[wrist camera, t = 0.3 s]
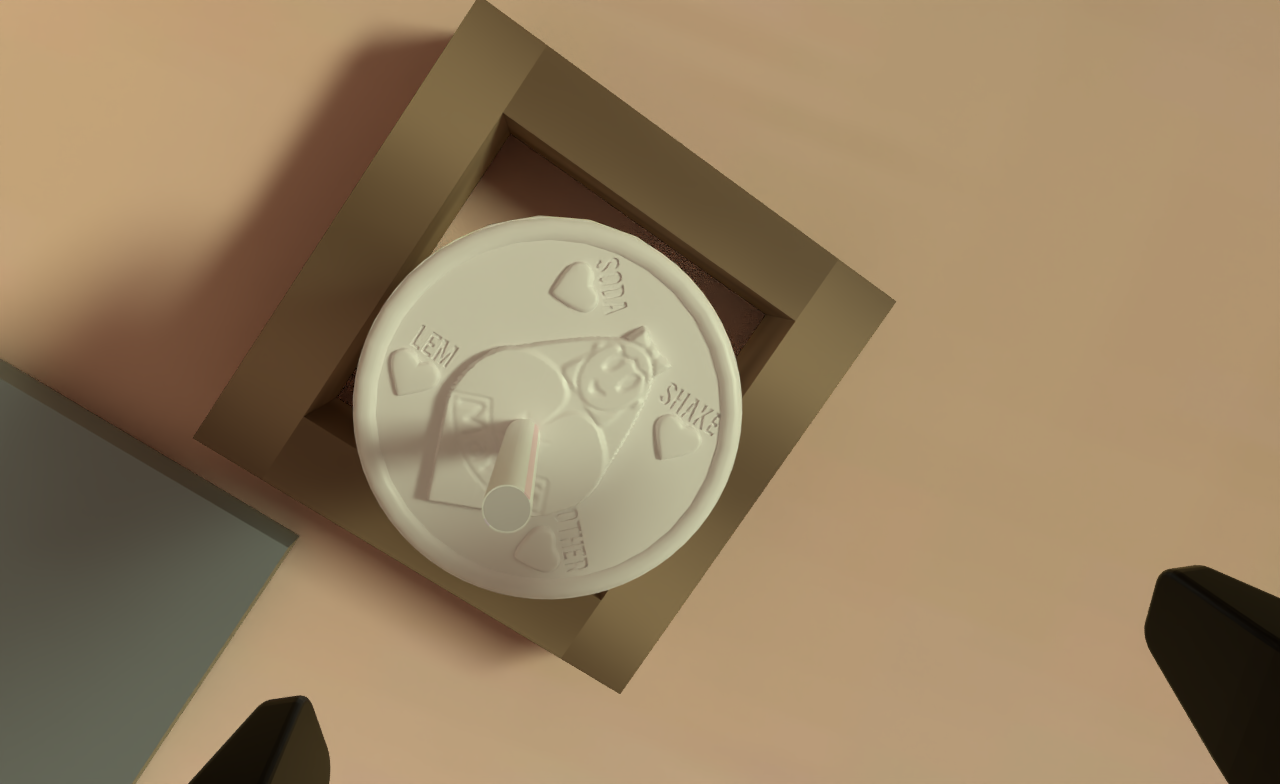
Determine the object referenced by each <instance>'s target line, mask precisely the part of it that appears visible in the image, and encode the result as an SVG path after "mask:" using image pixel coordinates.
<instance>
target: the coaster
mask: <svg viewBox="0 0 1280 784" xmlns="http://www.w3.org/2000/svg"><path fill="white" fill-rule="evenodd" d="M298 538H299V535H297V534H295V533H294V532H292V531H290V530H289V529H287V528H285V527H284V526H282V525H280V524H279V523H277V522H275V521H274V520H272V519H270V518H268V517H267V516H265V515H263V514H262V513H260V512H258V511H257V510H255V509H253V508H252V507H250V506H248V505H247V504H245V503H243V502H241V501H240V500H238V499H236V498H235V497H233V496H231V495H230V494H228V493H226V492H225V491H223V490H221V489H219V488H218V487H216V486H214V485H213V484H211V483H209V482H208V481H206V480H204V479H203V478H201V477H199V476H198V475H196V474H194V473H192V472H191V471H189V470H187V469H186V468H184V467H182V466H181V465H179V464H177V463H176V462H174V461H172V460H171V459H169V458H167V457H165V456H164V455H162V454H160V453H159V452H157V451H155V450H154V449H152V448H150V447H149V446H147V445H145V444H144V443H142V442H140V441H138V440H137V439H135V438H133V437H132V436H130V435H128V434H127V433H125V432H123V431H122V430H120V429H118V428H117V427H115V426H113V425H111V424H110V423H108V422H106V421H105V420H103V419H101V418H100V417H98V416H96V415H95V414H93V413H91V412H89V411H88V410H86V409H84V408H83V407H81V406H79V405H78V404H76V403H74V402H73V401H71V400H69V399H68V398H66V397H64V396H62V395H61V394H59V393H57V392H56V391H54V390H52V389H51V388H49V387H47V386H46V385H44V384H42V383H41V382H39V381H37V380H35V379H34V378H32V377H30V376H29V375H27V374H25V373H24V372H22V371H20V370H19V369H17V368H15V367H14V366H12V365H10V364H8V363H7V362H5V361H3V360H2V359H0V784H135V783H136V782H137V780H138V779H139V777H140V776H141V774H142V773H143V771H144V770H145V768H146V767H147V765H148V764H149V762H150V761H151V759H152V758H153V756H154V755H155V753H156V752H157V750H158V749H159V747H160V746H161V744H162V743H163V741H164V740H165V738H166V737H167V735H168V734H169V732H170V731H171V729H172V728H173V726H174V725H175V723H176V722H177V720H178V719H179V717H180V716H181V714H182V713H183V711H184V710H185V708H186V707H187V705H188V704H189V702H190V701H191V699H192V698H193V696H194V695H195V693H196V692H197V690H198V688H199V687H200V685H201V684H202V682H203V681H204V679H205V678H206V676H207V675H208V673H209V672H210V670H211V669H212V667H213V666H214V664H215V663H216V661H217V660H218V658H219V657H220V655H221V654H222V652H223V651H224V649H225V648H226V646H227V645H228V643H229V642H230V640H231V639H232V637H233V636H234V634H235V633H236V631H237V630H238V628H239V627H240V625H241V624H242V622H243V621H244V619H245V618H246V616H247V615H248V613H249V612H250V610H251V609H252V607H253V606H254V604H255V603H256V601H257V600H258V598H259V597H260V595H261V594H262V592H263V590H264V589H265V587H266V586H267V584H268V583H269V581H270V580H271V578H272V577H273V575H274V574H275V572H276V571H277V569H278V568H279V566H280V565H281V563H282V562H283V560H284V559H285V557H286V556H287V554H288V553H289V551H290V550H291V548H292V547H293V545H294V544H295V542H296V541H297V539H298Z"/></svg>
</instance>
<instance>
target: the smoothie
mask: <svg viewBox="0 0 1280 784" xmlns="http://www.w3.org/2000/svg"><path fill="white" fill-rule="evenodd" d="M353 423H354V434H355V440H356V445H357V450H358V454H359V458H360V461H361V464H362V468H363V471H364V474H365V476H366V478H367V481H368V483H369V486H370V488H371V490H372V492H373V494H374V496H375V498H376V499H377V501H378V503H379V505H380V507H381V508H382V510H383V511H384V513H385V514H386V516H387V517H388V519H389V520H390V521H391V523H392V524H393V525H394V526H395V528H396V529H397V530H398V531H399V532H400V534H401V535H402V536H403V537H404V538H405V539H406V540H407V541H408V542H409V543H410V544H411V545H412V546H413V547H414V548H415V549H416V550H417V551H419V552H420V553H421V554H422V555H424V556H425V557H426V558H427V559H428V560H430V561H431V562H433V563H434V564H436V565H437V566H439V567H440V568H442V569H443V570H445V571H446V572H448V573H450V574H452V575H454V576H455V577H457V578H459V579H461V580H463V581H465V582H468V583H470V584H473V585H475V586H477V587H480V588H483V589H486V590H489V591H493V592H496V593H500V594H505V595H509V596H514V597H522V598H530V599H563V598H574V597H580V596H586V595H591V594H595V593H598V592H602V591H606V590H609V589H612V588H614V587H617V586H620V585H623V584H625V583H627V582H629V581H631V580H633V579H636V578H638V577H640V576H642V575H643V574H645V573H647V572H648V571H650V570H652V569H653V568H655V567H657V566H658V565H659V564H661V563H662V562H663V561H665V560H666V559H668V558H669V557H670V556H672V555H673V554H674V553H675V552H676V551H677V550H678V549H679V548H681V547H682V546H683V545H684V544H685V543H686V542H687V541H688V540H689V539H690V538H691V537H692V536H693V534H694V533H695V532H696V531H697V530H698V529H699V527H700V526H701V525H702V524H703V522H704V521H705V520H706V518H707V517H708V516H709V514H710V513H711V511H712V509H713V508H714V506H715V505H716V503H717V501H718V500H719V498H720V496H721V494H722V492H723V490H724V488H725V486H726V483H727V481H728V478H729V476H730V473H731V471H732V468H733V465H734V461H735V458H736V454H737V450H738V445H739V439H740V434H741V424H742V392H741V383H740V376H739V371H738V367H737V362H736V358H735V355H734V352H733V349H732V346H731V343H730V340H729V338H728V335H727V333H726V331H725V329H724V326H723V324H722V322H721V320H720V319H719V317H718V315H717V313H716V312H715V310H714V308H713V306H712V305H711V304H710V302H709V301H708V299H707V298H706V296H705V295H704V294H703V292H702V291H701V290H700V289H699V288H698V286H697V285H696V284H695V283H694V282H693V281H692V279H691V278H690V277H689V276H688V275H687V274H686V273H685V272H684V271H682V270H681V269H680V268H679V266H678V265H676V264H675V263H674V262H672V261H671V260H670V259H668V258H667V257H666V256H665V255H663V254H662V253H661V252H659V251H658V250H656V249H654V248H653V247H651V246H650V245H648V244H647V243H645V242H644V241H642V240H641V239H639V238H638V237H636V236H634V235H631V234H628V233H625V232H622V231H620V230H617V229H614V228H611V227H609V226H606V225H603V224H600V223H598V222H595V221H592V220H588V219H577V218H565V217H553V216H541V215H539V216H533V217H528V218H522V219H517V220H511V221H506V222H501V223H495V224H490V225H487V226H485V227H483V228H481V229H479V230H476V231H473V232H471V233H469V234H467V235H465V236H462V237H460V238H458V239H456V240H454V241H453V242H451V243H449V244H447V245H446V246H444V247H442V248H441V249H439V250H438V251H436V252H435V253H434V254H432V255H431V256H429V257H428V258H427V259H425V260H424V261H423V262H422V263H420V264H419V265H418V266H417V267H416V268H415V269H414V270H413V271H412V272H411V273H409V274H408V275H407V277H406V278H405V279H404V280H403V281H402V282H401V283H400V284H399V285H398V287H397V288H396V289H395V290H394V291H393V293H392V294H391V296H390V297H389V298H388V300H387V301H386V302H385V304H384V305H383V307H382V309H381V310H380V312H379V314H378V315H377V317H376V319H375V321H374V322H373V325H372V327H371V329H370V331H369V333H368V336H367V338H366V340H365V343H364V346H363V349H362V352H361V355H360V358H359V363H358V367H357V372H356V376H355V384H354V392H353Z"/></svg>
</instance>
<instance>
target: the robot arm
mask: <svg viewBox="0 0 1280 784" xmlns="http://www.w3.org/2000/svg"><path fill="white" fill-rule="evenodd" d="M1144 632H1145V639H1146V642H1147V645H1148V648H1149V650H1150V652H1151V654H1152V655H1153V657H1154V659H1155V661H1156V662H1157V664H1158V666H1159V667H1160V669H1161V671H1162V673H1163V674H1164V676H1165V678H1166V679H1167V681H1168V683H1169V685H1170V686H1171V688H1172V690H1173V691H1174V693H1175V695H1176V697H1177V698H1178V700H1179V702H1180V703H1181V705H1182V707H1183V708H1184V710H1185V712H1186V714H1187V715H1188V717H1189V719H1190V720H1191V722H1192V724H1193V726H1194V727H1195V729H1196V731H1197V732H1198V734H1199V736H1200V738H1201V739H1202V741H1203V743H1204V744H1205V746H1206V748H1207V750H1208V751H1209V753H1210V755H1211V756H1212V758H1213V760H1214V761H1215V763H1216V765H1217V766H1218V768H1219V769H1220V771H1221V773H1222V774H1223V776H1224V777H1225V779H1226V781H1227V782H1228V784H1280V598H1278V597H1276V596H1274V595H1271V594H1269V593H1267V592H1265V591H1262V590H1260V589H1258V588H1255V587H1253V586H1251V585H1248V584H1246V583H1244V582H1242V581H1239V580H1237V579H1235V578H1232V577H1230V576H1228V575H1225V574H1223V573H1221V572H1218V571H1216V570H1214V569H1212V568H1209V567H1206V566H1202V565H1193V566H1186V567H1179V568H1172V569H1167V570H1165V571H1163V572H1162V573H1161V574H1160V575H1159V577H1158V579H1157V581H1156V585H1155V588H1154V592H1153V596H1152V599H1151V603H1150V607H1149V610H1148V614H1147V618H1146V621H1145V627H1144ZM329 781H330V757H329V752H328V748H327V745H326V742H325V740H324V737H323V734H322V731H321V728H320V725H319V723H318V720H317V717H316V714H315V711H314V708H313V706H312V703H311V702H310V700H309V699H308V698H307V697H305V696H301V695H299V696H292V697H285V698H278V699H272V700H268V701H265V702H263V703H262V704H261V705H259V706H258V707H257V708H256V709H255V710H254V712H253V713H252V714H251V715H250V716H249V717H248V718H247V719H246V720H245V722H244V723H243V724H242V725H241V726H240V727H239V728H238V729H237V730H236V731H235V733H234V734H233V735H232V736H231V737H230V738H229V739H228V740H227V741H226V743H225V744H224V745H223V746H222V747H221V748H220V749H219V750H218V751H217V752H216V754H215V755H214V756H213V757H212V758H211V759H210V760H209V761H208V762H207V764H206V765H205V766H204V767H203V768H202V769H201V770H200V771H199V772H198V773H197V775H196V776H195V777H194V778H193V779H192V780H191V781H190V782H189V783H188V784H329Z"/></svg>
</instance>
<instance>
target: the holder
mask: <svg viewBox="0 0 1280 784" xmlns="http://www.w3.org/2000/svg"><path fill="white" fill-rule="evenodd" d="M510 134H512V135H513V136H514V137H516V138H517V139H519V140H520V141H522V142H523V143H524V144H526V145H527V146H529V147H530V148H531V149H533V150H534V151H536V152H537V153H538V154H540V155H541V156H543V157H544V158H546V159H547V160H548V161H550V162H551V163H553V164H554V165H555V166H557V167H558V168H560V169H561V170H562V171H564V172H565V173H567V174H568V175H570V176H571V177H572V178H574V179H575V180H577V181H578V182H579V183H581V184H582V185H584V186H585V187H586V188H588V189H589V190H591V191H592V192H594V193H595V194H596V195H598V196H599V197H601V198H602V199H603V200H605V201H606V202H608V203H609V204H610V205H612V206H613V207H615V208H616V209H618V210H619V211H620V212H622V213H623V214H625V215H626V216H627V217H629V218H630V219H632V220H633V221H634V222H636V223H637V224H639V225H640V226H642V227H643V228H644V229H646V230H647V231H649V232H650V233H651V234H653V235H654V236H656V237H657V238H658V239H660V240H661V241H663V242H664V243H666V244H667V245H668V246H670V247H671V248H673V249H674V250H675V251H677V252H678V253H680V254H681V255H682V256H684V257H685V258H687V259H688V260H689V261H691V262H692V263H694V264H695V265H697V266H698V267H699V268H701V269H702V270H704V271H705V272H706V273H708V274H709V275H711V276H712V277H713V278H715V279H716V280H718V281H719V282H721V283H722V284H723V285H725V286H726V287H728V288H729V289H730V290H732V291H733V292H735V293H736V294H737V295H739V296H740V297H742V298H743V299H745V300H746V301H747V302H749V303H750V304H752V305H753V306H754V307H756V308H757V309H759V310H760V311H761V312H763V313H764V314H766V315H765V317H764V318H763V319H762V321H761V322H760V324H759V325H758V327H757V328H756V330H755V331H754V332H753V334H752V335H751V337H750V338H749V340H748V341H747V343H746V344H745V345H744V347H743V348H742V350H741V351H740V353H739V354H738V356H737V357H736V362H737V367H738V371H739V376H740V383H741V392H742V424H741V434H740V439H739V445H738V450H737V454H736V458H735V461H734V465H733V468H732V471H731V473H730V476H729V478H728V481H727V483H726V486H725V488H724V490H723V492H722V494H721V496H720V498H719V500H718V501H717V503H716V505H715V506H714V508H713V509H712V511H711V513H710V514H709V516H708V517H707V518H706V520H705V521H704V522H703V524H702V525H701V526H700V527H699V529H698V530H697V531H696V532H695V533H694V534H693V536H692V537H691V538H690V539H689V540H688V541H687V542H686V543H685V544H684V545H683V546H682V547H681V548H679V549H678V550H677V551H676V552H675V553H674V554H673V555H672V556H670V557H669V558H668V559H666V560H665V561H663V562H662V563H661V564H659V565H658V566H657V567H655V568H653V569H652V570H650V571H648V572H647V573H645V574H643V575H642V576H640V577H638V578H636V579H633V580H631V581H629V582H627V583H625V584H623V585H620V586H617V587H614V588H612V589H609V590H606V591H602V592H598V593H595V594H591V595H586V596H580V597H574V598H563V599H530V598H522V597H514V596H509V595H505V594H500V593H496V592H493V591H489V590H486V589H483V588H480V587H477V586H475V585H473V584H470V583H468V582H465V581H463V580H461V579H459V578H457V577H455V576H454V575H452V574H450V573H448V572H446V571H445V570H443V569H442V568H440V567H439V566H437V565H436V564H434V563H433V562H431V561H430V560H428V559H427V558H426V557H425V556H424V555H422V554H421V553H420V552H419V551H417V550H416V549H415V548H414V547H413V546H412V545H411V544H410V543H409V542H408V541H407V540H406V539H405V538H404V537H403V536H402V535H401V534H400V532H399V531H398V530H397V529H396V528H395V526H394V525H393V524H392V523H391V521H390V520H389V519H388V517H387V516H386V514H385V513H384V511H383V510H382V508H381V507H380V505H379V503H378V501H377V499H376V498H375V496H374V494H373V492H372V490H371V488H370V486H369V483H368V481H367V478H366V476H365V474H364V471H363V468H362V464H361V461H360V458H359V454H358V450H357V445H356V440H355V434H354V423H353V408H352V407H351V406H349V405H348V404H346V403H345V402H343V401H341V400H340V399H338V398H337V396H338V394H339V393H340V391H341V390H342V388H343V387H344V385H345V384H346V382H347V381H348V379H349V378H350V376H351V375H352V373H353V372H354V370H355V369H356V367H357V365H358V363H359V358H360V355H361V352H362V349H363V346H364V343H365V340H366V338H367V336H368V333H369V331H370V329H371V327H372V325H373V322H374V321H375V319H376V317H377V315H378V314H379V312H380V310H381V309H382V307H383V305H384V304H385V302H386V301H387V300H388V298H389V297H390V296H391V294H392V293H393V291H394V290H395V289H396V288H397V287H398V285H399V284H400V283H401V282H402V281H403V280H404V279H405V278H406V277H407V275H408V274H409V273H411V272H412V271H413V270H414V269H415V268H416V267H417V266H418V265H419V264H420V263H422V262H423V261H424V260H425V259H427V258H428V257H429V256H430V255H431V253H432V252H433V250H434V249H435V247H436V245H437V244H438V242H439V241H440V239H441V238H442V236H443V235H444V233H445V232H446V230H447V229H448V227H449V226H450V224H451V223H452V221H453V220H454V218H455V217H456V215H457V214H458V212H459V211H460V209H461V207H462V206H463V204H464V203H465V201H466V200H467V198H468V197H469V195H470V194H471V192H472V191H473V189H474V188H475V186H476V185H477V183H478V182H479V180H480V179H481V177H482V176H483V174H484V173H485V171H486V170H487V168H488V166H489V165H490V163H491V162H492V160H493V159H494V157H495V156H496V154H497V153H498V151H499V150H500V148H501V147H502V145H503V144H504V142H505V141H506V139H507V138H508V136H509V135H510ZM895 303H896V301H895V300H894V299H892V298H891V297H889V296H888V295H887V294H885V293H884V292H883V291H881V290H880V289H879V288H877V287H876V286H874V285H873V284H872V283H870V282H869V281H868V280H866V279H865V278H864V277H862V276H861V275H859V274H858V273H857V272H855V271H854V270H853V269H851V268H850V267H849V266H847V265H846V264H844V263H843V262H842V261H840V260H839V259H838V258H836V257H835V256H834V255H832V254H831V253H829V252H828V251H827V250H825V249H824V248H823V247H821V246H820V245H819V244H817V243H816V242H814V241H813V240H812V239H810V238H809V237H808V236H806V235H805V234H804V233H802V232H801V231H799V230H798V229H797V228H795V227H794V226H793V225H791V224H790V223H789V222H787V221H786V220H785V219H783V218H782V217H780V216H779V215H778V214H776V213H775V212H774V211H772V210H771V209H770V208H768V207H767V206H765V205H764V204H763V203H761V202H760V201H759V200H757V199H756V198H755V197H753V196H752V195H750V194H749V193H748V192H746V191H745V190H744V189H742V188H741V187H740V186H738V185H737V184H735V183H734V182H733V181H731V180H730V179H729V178H727V177H726V176H725V175H723V174H722V173H720V172H719V171H718V170H716V169H715V168H714V167H712V166H711V165H710V164H708V163H707V162H705V161H704V160H703V159H701V158H700V157H699V156H697V155H696V154H695V153H693V152H692V151H690V150H689V149H688V148H686V147H685V146H684V145H682V144H681V143H680V142H678V141H677V140H676V139H674V138H673V137H671V136H670V135H669V134H667V133H666V132H665V131H663V130H662V129H661V128H659V127H658V126H656V125H655V124H654V123H652V122H651V121H650V120H648V119H647V118H646V117H644V116H643V115H641V114H640V113H639V112H637V111H636V110H635V109H633V108H632V107H631V106H629V105H628V104H626V103H625V102H624V101H622V100H621V99H620V98H618V97H617V96H616V95H614V94H613V93H611V92H610V91H609V90H607V89H606V88H605V87H603V86H602V85H601V84H599V83H598V82H596V81H595V80H594V79H592V78H591V77H590V76H588V75H587V74H586V73H584V72H583V71H581V70H580V69H579V68H577V67H576V66H575V65H573V64H572V63H571V62H569V61H568V60H567V59H565V58H564V57H562V56H561V55H560V54H558V53H557V52H556V51H554V50H553V49H552V48H550V47H549V46H547V45H546V44H545V43H543V42H542V41H541V40H539V39H538V38H537V37H535V36H534V35H532V34H531V33H530V32H528V31H527V30H526V29H524V28H523V27H522V26H520V25H519V24H517V23H516V22H515V21H513V20H512V19H511V18H509V17H508V16H507V15H505V14H504V13H502V12H501V11H500V10H498V9H497V8H496V7H494V6H493V5H492V4H490V3H489V2H487V1H486V0H476V1H475V3H474V4H473V6H472V7H471V9H470V10H469V12H468V14H467V15H466V17H465V18H464V20H463V21H462V23H461V24H460V26H459V27H458V29H457V31H456V32H455V34H454V35H453V37H452V38H451V40H450V41H449V43H448V44H447V46H446V47H445V49H444V51H443V52H442V54H441V55H440V57H439V58H438V60H437V61H436V63H435V64H434V66H433V68H432V69H431V71H430V72H429V74H428V75H427V77H426V78H425V80H424V81H423V83H422V85H421V86H420V88H419V89H418V91H417V92H416V94H415V95H414V97H413V98H412V100H411V102H410V103H409V105H408V106H407V108H406V109H405V111H404V112H403V114H402V115H401V117H400V119H399V120H398V122H397V123H396V125H395V126H394V128H393V129H392V131H391V132H390V134H389V136H388V137H387V139H386V140H385V142H384V143H383V145H382V146H381V148H380V149H379V151H378V153H377V154H376V156H375V157H374V159H373V160H372V162H371V163H370V165H369V166H368V168H367V170H366V171H365V173H364V174H363V176H362V177H361V179H360V180H359V182H358V183H357V185H356V187H355V188H354V190H353V191H352V193H351V194H350V196H349V197H348V199H347V200H346V202H345V204H344V205H343V207H342V208H341V210H340V211H339V213H338V214H337V216H336V217H335V219H334V220H333V222H332V224H331V225H330V227H329V228H328V230H327V231H326V233H325V234H324V236H323V237H322V239H321V241H320V242H319V244H318V245H317V247H316V248H315V250H314V251H313V253H312V254H311V256H310V258H309V259H308V261H307V262H306V264H305V265H304V267H303V268H302V270H301V271H300V273H299V275H298V276H297V278H296V279H295V281H294V282H293V284H292V285H291V287H290V288H289V290H288V292H287V293H286V295H285V296H284V298H283V299H282V301H281V302H280V304H279V305H278V307H277V309H276V310H275V312H274V313H273V315H272V316H271V318H270V319H269V321H268V322H267V324H266V326H265V327H264V329H263V330H262V332H261V333H260V335H259V336H258V338H257V339H256V341H255V343H254V344H253V346H252V347H251V349H250V350H249V352H248V353H247V355H246V356H245V358H244V360H243V361H242V363H241V364H240V366H239V367H238V369H237V370H236V372H235V373H234V375H233V377H232V378H231V380H230V381H229V383H228V384H227V386H226V387H225V389H224V390H223V392H222V394H221V395H220V397H219V398H218V400H217V401H216V403H215V404H214V406H213V407H212V409H211V410H210V412H209V414H208V415H207V417H206V418H205V420H204V421H203V423H202V424H201V426H200V427H199V429H198V431H197V432H196V434H195V435H194V437H193V438H194V439H195V440H197V441H199V442H200V443H202V444H204V445H205V446H207V447H209V448H210V449H212V450H214V451H215V452H217V453H219V454H220V455H222V456H224V457H225V458H227V459H229V460H230V461H232V462H234V463H235V464H237V465H239V466H240V467H242V468H244V469H245V470H247V471H249V472H250V473H252V474H254V475H255V476H257V477H259V478H260V479H262V480H264V481H265V482H267V483H269V484H270V485H272V486H274V487H275V488H277V489H279V490H280V491H282V492H284V493H285V494H287V495H289V496H290V497H292V498H294V499H295V500H297V501H299V502H300V503H302V504H304V505H305V506H307V507H309V508H310V509H312V510H314V511H315V512H317V513H319V514H320V515H322V516H324V517H325V518H327V519H329V520H330V521H332V522H334V523H335V524H337V525H339V526H340V527H342V528H344V529H345V530H347V531H349V532H350V533H352V534H354V535H355V536H357V537H359V538H360V539H362V540H364V541H365V542H367V543H369V544H370V545H372V546H374V547H375V548H377V549H379V550H380V551H382V552H384V553H385V554H387V555H389V556H390V557H392V558H394V559H395V560H397V561H399V562H400V563H402V564H404V565H405V566H407V567H409V568H410V569H412V570H414V571H415V572H417V573H419V574H420V575H422V576H424V577H425V578H427V579H429V580H430V581H432V582H434V583H435V584H437V585H439V586H440V587H442V588H444V589H446V590H447V591H449V592H451V593H452V594H454V595H456V596H457V597H459V598H461V599H462V600H464V601H466V602H467V603H469V604H471V605H472V606H474V607H476V608H477V609H479V610H481V611H482V612H484V613H486V614H487V615H489V616H491V617H492V618H494V619H496V620H497V621H499V622H501V623H502V624H504V625H506V626H507V627H509V628H511V629H512V630H514V631H516V632H517V633H519V634H521V635H522V636H524V637H526V638H527V639H529V640H531V641H532V642H534V643H536V644H537V645H539V646H541V647H542V648H544V649H546V650H547V651H549V652H551V653H552V654H554V655H556V656H557V657H559V658H561V659H562V660H564V661H566V662H567V663H569V664H571V665H572V666H574V667H576V668H577V669H579V670H581V671H582V672H584V673H586V674H587V675H589V676H591V677H592V678H594V679H596V680H597V681H599V682H601V683H602V684H604V685H606V686H607V687H609V688H611V689H612V690H614V691H616V692H617V693H619V694H621V692H622V691H623V689H624V688H625V686H626V685H627V684H628V682H629V681H630V679H631V678H632V677H633V675H634V674H635V672H636V671H637V669H638V668H639V667H640V665H641V664H642V662H643V661H644V659H645V658H646V657H647V655H648V654H649V652H650V651H651V649H652V648H653V647H654V645H655V644H656V642H657V641H658V640H659V638H660V637H661V635H662V634H663V632H664V631H665V630H666V628H667V627H668V625H669V624H670V622H671V621H672V620H673V618H674V617H675V615H676V614H677V613H678V611H679V610H680V608H681V607H682V605H683V604H684V603H685V601H686V600H687V598H688V597H689V595H690V594H691V593H692V591H693V590H694V588H695V587H696V586H697V584H698V583H699V581H700V580H701V578H702V577H703V576H704V574H705V573H706V571H707V570H708V568H709V567H710V566H711V564H712V563H713V561H714V560H715V559H716V557H717V556H718V554H719V553H720V551H721V550H722V549H723V547H724V546H725V544H726V543H727V541H728V540H729V539H730V537H731V536H732V534H733V533H734V532H735V530H736V529H737V527H738V526H739V524H740V523H741V522H742V520H743V519H744V517H745V516H746V514H747V513H748V512H749V510H750V509H751V507H752V506H753V504H754V503H755V502H756V500H757V499H758V497H759V496H760V495H761V493H762V492H763V490H764V489H765V487H766V486H767V485H768V483H769V482H770V480H771V479H772V477H773V476H774V475H775V473H776V472H777V470H778V469H779V468H780V466H781V465H782V463H783V462H784V460H785V459H786V458H787V456H788V455H789V453H790V452H791V450H792V449H793V448H794V446H795V445H796V443H797V442H798V441H799V439H800V438H801V436H802V435H803V433H804V432H805V431H806V429H807V428H808V426H809V425H810V423H811V422H812V421H813V419H814V418H815V416H816V415H817V414H818V412H819V411H820V409H821V408H822V406H823V405H824V404H825V402H826V401H827V399H828V398H829V396H830V395H831V394H832V392H833V391H834V389H835V388H836V387H837V385H838V384H839V382H840V381H841V379H842V378H843V377H844V375H845V374H846V372H847V371H848V369H849V368H850V367H851V365H852V364H853V362H854V361H855V359H856V358H857V357H858V355H859V354H860V352H861V351H862V350H863V348H864V347H865V345H866V344H867V342H868V341H869V340H870V338H871V337H872V335H873V334H874V332H875V331H876V330H877V328H878V327H879V325H880V324H881V323H882V321H883V320H884V318H885V317H886V315H887V314H888V313H889V311H890V310H891V308H892V307H893V305H894V304H895Z"/></svg>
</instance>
